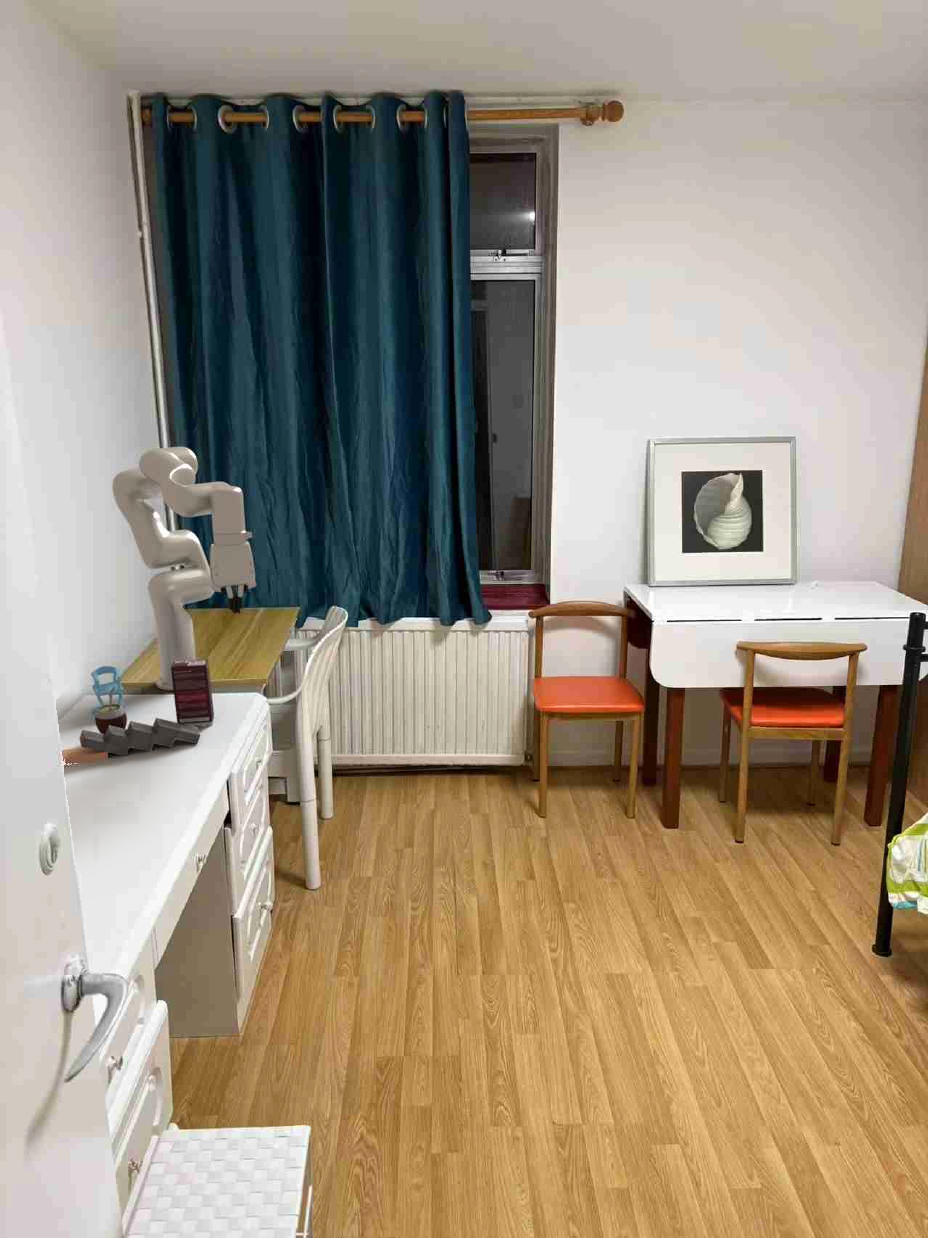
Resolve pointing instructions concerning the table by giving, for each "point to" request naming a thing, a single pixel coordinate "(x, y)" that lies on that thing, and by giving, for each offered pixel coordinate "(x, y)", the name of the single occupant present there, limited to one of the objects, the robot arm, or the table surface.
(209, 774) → the table surface
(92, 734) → the domino
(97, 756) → the rust domino
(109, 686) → the chair
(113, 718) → the mate gourd
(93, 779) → the table surface
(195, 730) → the domino
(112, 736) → the domino
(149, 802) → the table surface
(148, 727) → the domino
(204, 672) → the supplement box
